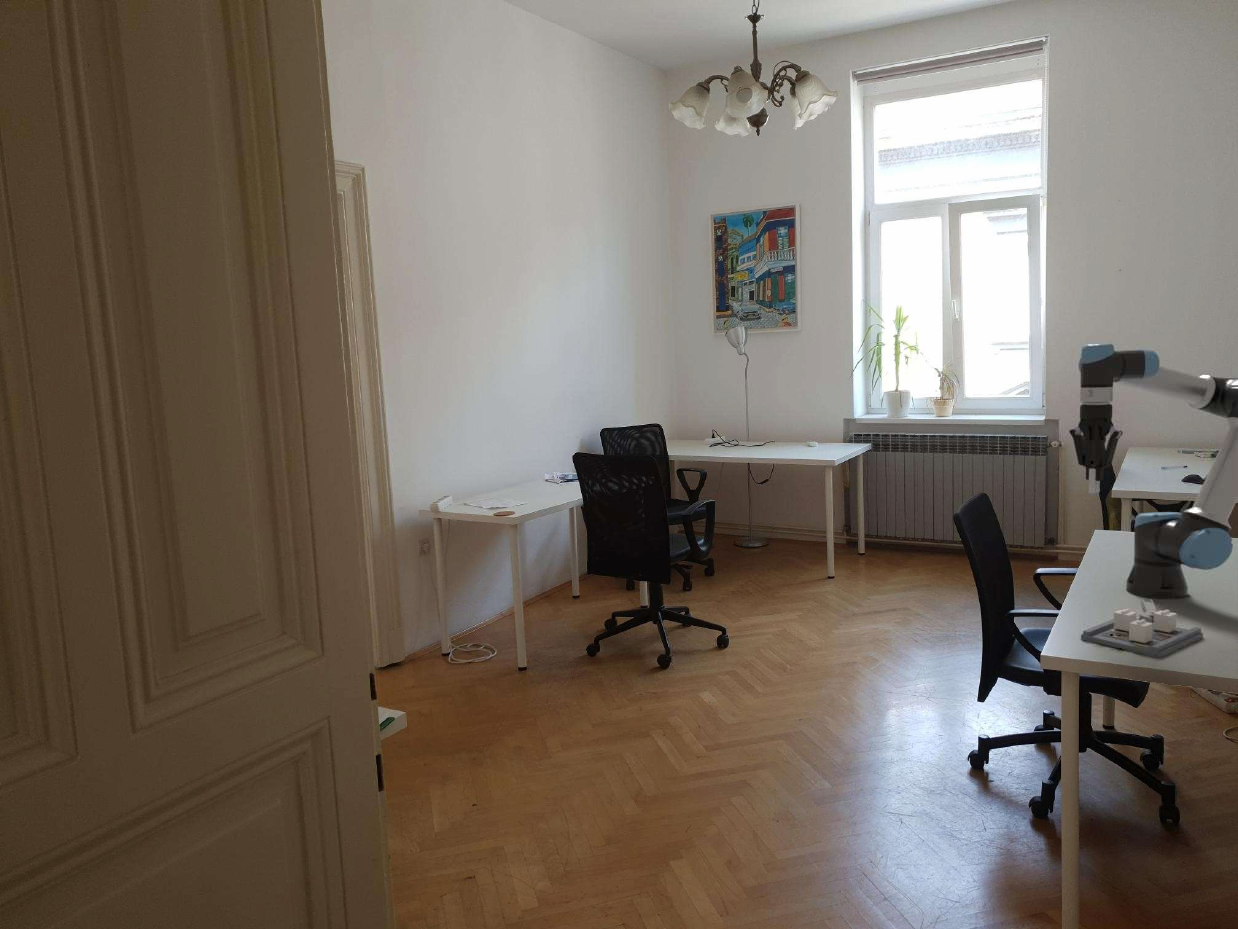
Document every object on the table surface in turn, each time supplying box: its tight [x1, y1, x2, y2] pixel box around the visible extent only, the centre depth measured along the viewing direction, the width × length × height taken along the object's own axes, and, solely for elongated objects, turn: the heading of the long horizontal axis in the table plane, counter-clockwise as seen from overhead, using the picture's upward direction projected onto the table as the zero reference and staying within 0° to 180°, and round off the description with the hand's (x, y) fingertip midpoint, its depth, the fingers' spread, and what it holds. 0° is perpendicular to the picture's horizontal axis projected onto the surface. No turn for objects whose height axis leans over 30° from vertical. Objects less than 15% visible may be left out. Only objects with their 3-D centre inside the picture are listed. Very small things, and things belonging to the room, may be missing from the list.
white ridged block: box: [1129, 619, 1154, 643], centre depth 211 cm, size 4×4×5 cm
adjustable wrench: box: [1138, 597, 1158, 623], centre depth 233 cm, size 25×6×2 cm, turn 149°
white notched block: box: [1153, 609, 1178, 632], centre depth 217 cm, size 4×4×5 cm
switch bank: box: [1080, 618, 1204, 659], centre depth 217 cm, size 22×18×2 cm
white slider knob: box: [1113, 608, 1137, 631], centre depth 219 cm, size 4×4×5 cm
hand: (1094, 492), depth 236 cm, fingers closed
